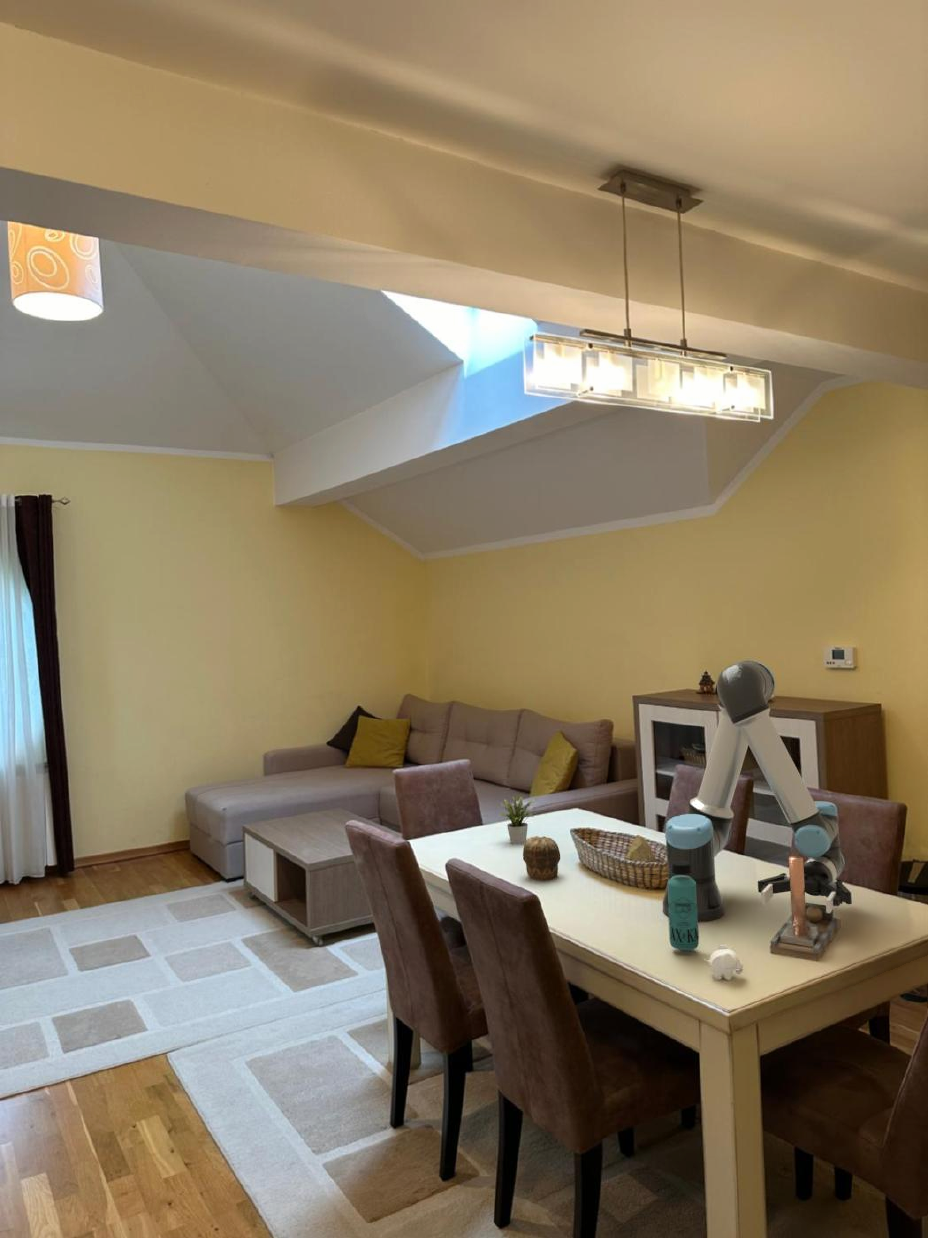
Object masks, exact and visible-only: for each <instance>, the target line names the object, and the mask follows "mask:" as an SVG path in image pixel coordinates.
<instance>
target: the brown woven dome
mask: <svg viewBox="0 0 928 1238" xmlns="http://www.w3.org/2000/svg"><path fill="white" fill-rule="evenodd" d="M523 845H524V846H523V852H522V858H523V862H524V863H525V866H526V868H525V869H526V873H527V875H528V877H529V878H530V879H531V880H535V881H543V882H544V881H551V880H554V879H557V878H559V876H558V873H559V871H558V870H559V862H561V852H560V848H559V846H558V843H557V842H556V841H555V839H553V838H551V837H546V836H545V835H544V836H541V837H539V836H538V835H536V836H531V837H529V838H527V839H526V842H525V844H523Z"/></svg>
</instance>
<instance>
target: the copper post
mask: <svg viewBox="0 0 928 1238" xmlns="http://www.w3.org/2000/svg"><path fill="white" fill-rule="evenodd" d="M803 864H804V857H802V856H800V855H790V856H789V857H788V868H789V869H788V872H789V877H790V891H789V892H790V906H791V915H792V921H788V922H787V928H786V929H785V930H784V931H783V933H782V934H781V935H780V941H781V942H785V943H791V944H797V945H803V946H809V947H814V946H815V945H816V943H817V942H818V940H819V939H820V932H818V925H812V924H807V921H806V903H807V902H806V893H805V885H804V867H803Z"/></svg>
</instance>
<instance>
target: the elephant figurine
mask: <svg viewBox="0 0 928 1238" xmlns="http://www.w3.org/2000/svg"><path fill="white" fill-rule="evenodd" d="M703 960H704V961H706V962H708V963H709V968H710V971H711V973H712V976H713V978H714V979H715V980H716V981H719V980H721V979H722V976H723V978H724V979H725V980H727V981H731V980H732V975H733V971H735V973H736V974H737V975H741V974H742V973H743V972H744V965H743V963H742V961H741V960H740V959H739V957H738V954H737V953H736V952H735V951H734V950H732V949H731V948H730V947H729V946H728V945H727V944H720V945H719V946H718V948H717V950H715V951H713V953H711V955H710V957H709V959H708V960H707V959H705V958H704V959H703Z"/></svg>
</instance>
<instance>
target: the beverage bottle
mask: <svg viewBox="0 0 928 1238" xmlns="http://www.w3.org/2000/svg"><path fill="white" fill-rule="evenodd" d="M672 873H674V874H689V873H691V869H690V864H689V863H688V862H685V861H676V862H673V863H672ZM667 884H668V901H669V908H668V909H669V914H668V915H667V918H668V931H669V937H668V938H669V943H670V946H671V947H672V948H674V949H676V950H681V951H693V950H695V949H697V948H698V947H699V944H700V935H699V933H700V931H699V921H698V917H697V909H698V908H697V899H696V882H695V881H694V880H693V879H692V878H691V877H689V876H684V875H677V876H673V877H672V878H671V879H670V880H669V881H667V883H666V885H667Z"/></svg>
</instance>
